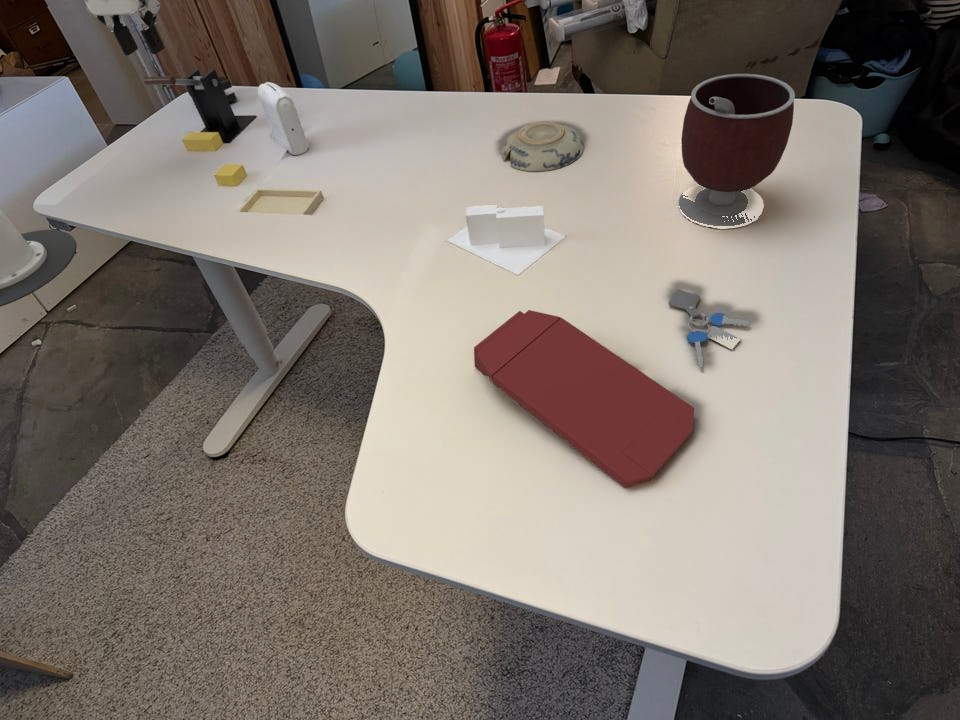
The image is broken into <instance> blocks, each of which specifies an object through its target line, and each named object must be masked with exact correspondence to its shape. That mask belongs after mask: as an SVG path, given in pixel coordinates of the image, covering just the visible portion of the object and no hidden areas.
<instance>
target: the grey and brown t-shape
mask: <svg viewBox="0 0 960 720" xmlns="http://www.w3.org/2000/svg"><path fill="white" fill-rule="evenodd" d="M202 76H203V75H201V76H193V80H190V79H184V78H176V77H174V76H172V75H169V76H167V75H166V76H144V77H143V83H144V84H145V85H146V86H175V85H177V86H186V85H194V86H195V89H198V90H205V89H204V87H203V85H202V83H201V80H200V78H201V77H202Z"/></svg>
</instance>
